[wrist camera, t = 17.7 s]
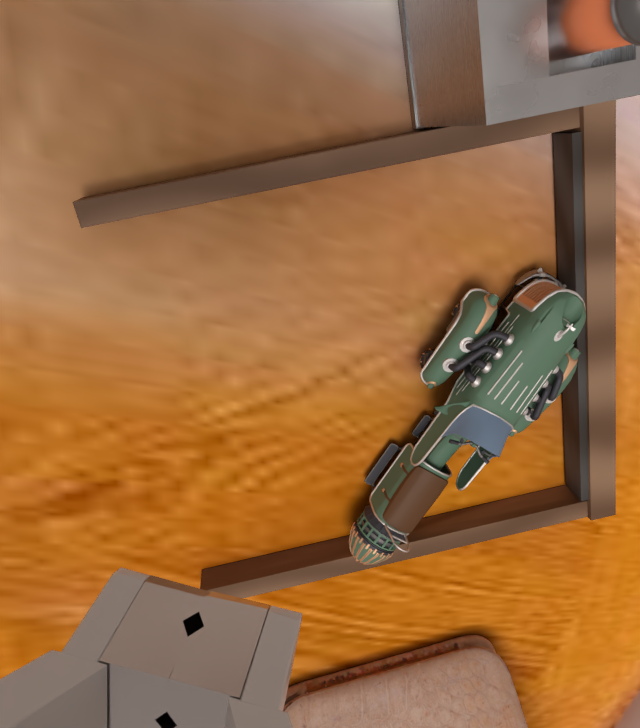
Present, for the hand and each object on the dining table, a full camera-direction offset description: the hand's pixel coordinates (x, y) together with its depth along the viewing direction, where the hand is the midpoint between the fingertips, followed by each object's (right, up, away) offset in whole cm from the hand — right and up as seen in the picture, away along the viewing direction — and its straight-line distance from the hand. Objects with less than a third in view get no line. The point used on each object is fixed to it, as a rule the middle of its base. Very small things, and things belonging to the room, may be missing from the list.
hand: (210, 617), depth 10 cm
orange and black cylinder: (+13, +20, +19) cm, 31 cm away
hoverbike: (+11, +1, +37) cm, 38 cm away
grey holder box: (+12, +23, +28) cm, 38 cm away
